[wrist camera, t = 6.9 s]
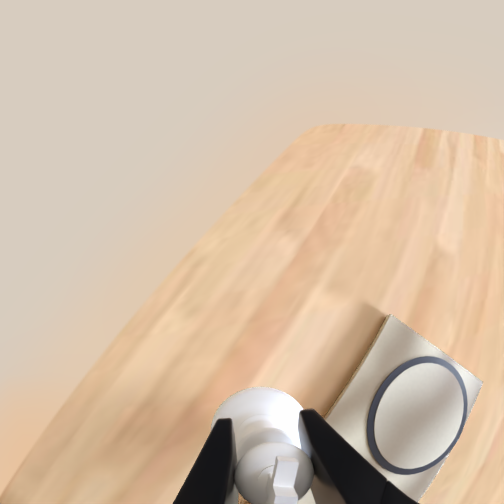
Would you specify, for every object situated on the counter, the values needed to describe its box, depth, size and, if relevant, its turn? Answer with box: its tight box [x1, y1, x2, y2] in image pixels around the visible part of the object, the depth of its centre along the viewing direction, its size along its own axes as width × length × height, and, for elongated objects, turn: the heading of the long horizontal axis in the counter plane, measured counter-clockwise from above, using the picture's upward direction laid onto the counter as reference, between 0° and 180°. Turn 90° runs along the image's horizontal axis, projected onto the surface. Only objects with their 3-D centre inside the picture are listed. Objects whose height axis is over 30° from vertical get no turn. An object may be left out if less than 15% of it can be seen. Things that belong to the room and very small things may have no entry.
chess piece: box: [211, 387, 314, 504], centre depth 9 cm, size 5×5×10 cm
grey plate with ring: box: [297, 314, 483, 504], centre depth 15 cm, size 11×20×1 cm, turn 143°
